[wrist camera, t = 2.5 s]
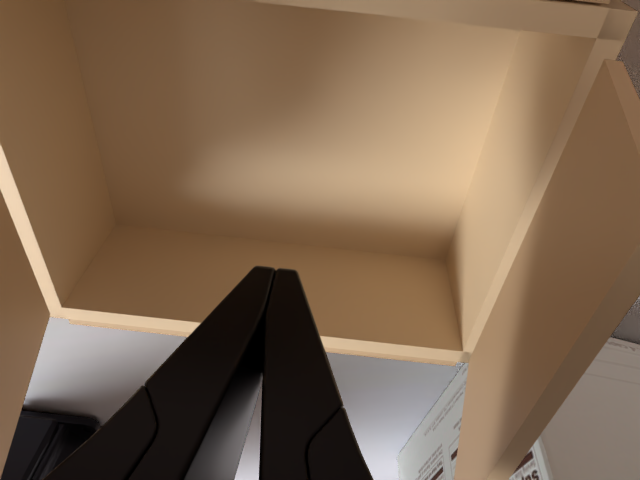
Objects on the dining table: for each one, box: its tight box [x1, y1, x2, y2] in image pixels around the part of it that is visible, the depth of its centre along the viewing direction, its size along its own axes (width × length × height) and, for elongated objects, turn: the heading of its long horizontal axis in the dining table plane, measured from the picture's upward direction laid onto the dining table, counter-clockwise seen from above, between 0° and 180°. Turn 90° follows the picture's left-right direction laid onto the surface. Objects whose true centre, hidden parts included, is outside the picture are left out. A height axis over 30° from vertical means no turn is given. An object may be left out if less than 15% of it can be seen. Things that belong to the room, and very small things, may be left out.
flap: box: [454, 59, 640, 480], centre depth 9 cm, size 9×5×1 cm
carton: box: [0, 0, 638, 366], centre depth 13 cm, size 11×13×4 cm
